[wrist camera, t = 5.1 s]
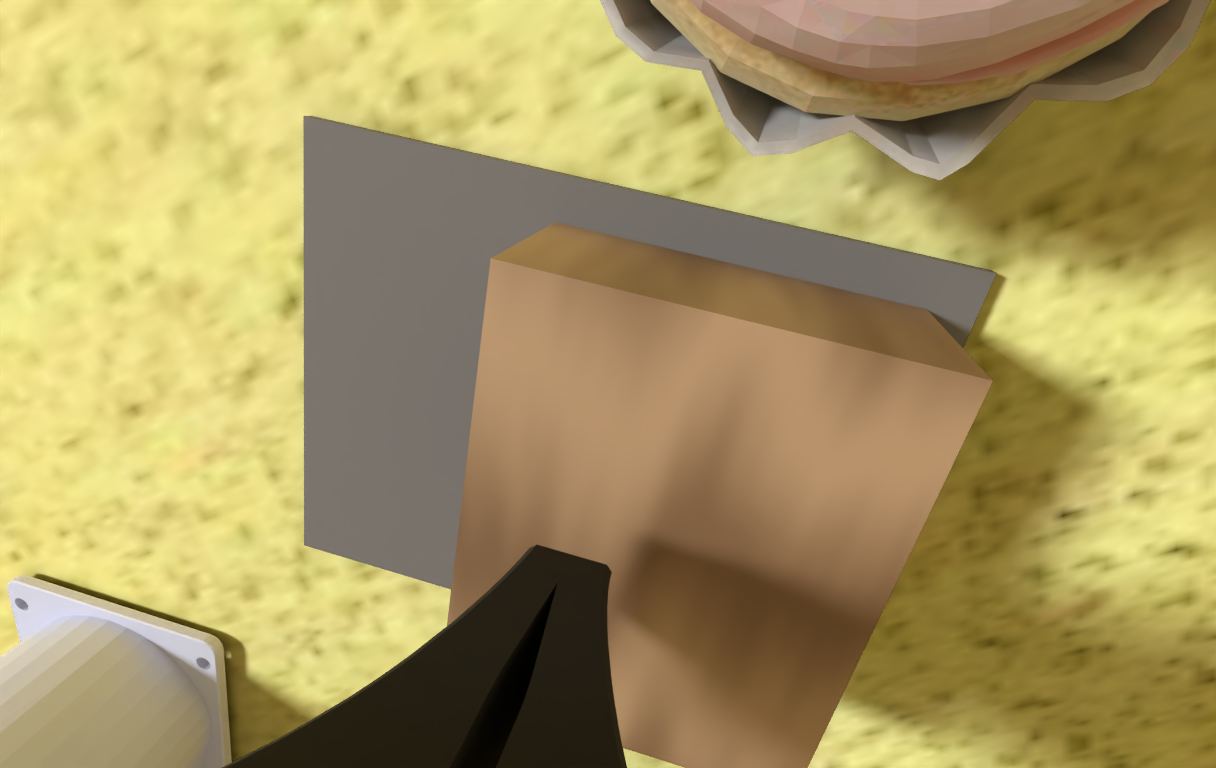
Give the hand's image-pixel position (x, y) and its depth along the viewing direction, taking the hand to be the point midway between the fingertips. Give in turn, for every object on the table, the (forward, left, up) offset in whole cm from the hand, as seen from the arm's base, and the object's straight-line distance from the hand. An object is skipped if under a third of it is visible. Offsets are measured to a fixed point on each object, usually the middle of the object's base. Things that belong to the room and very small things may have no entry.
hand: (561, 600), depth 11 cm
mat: (0, +1, -6) cm, 6 cm away
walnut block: (0, +3, -4) cm, 4 cm away
